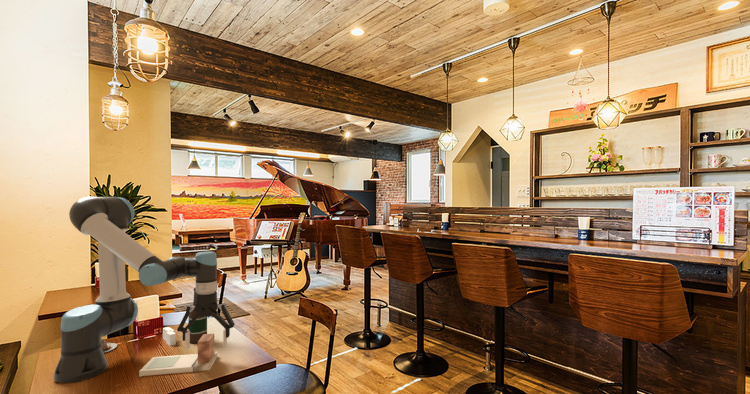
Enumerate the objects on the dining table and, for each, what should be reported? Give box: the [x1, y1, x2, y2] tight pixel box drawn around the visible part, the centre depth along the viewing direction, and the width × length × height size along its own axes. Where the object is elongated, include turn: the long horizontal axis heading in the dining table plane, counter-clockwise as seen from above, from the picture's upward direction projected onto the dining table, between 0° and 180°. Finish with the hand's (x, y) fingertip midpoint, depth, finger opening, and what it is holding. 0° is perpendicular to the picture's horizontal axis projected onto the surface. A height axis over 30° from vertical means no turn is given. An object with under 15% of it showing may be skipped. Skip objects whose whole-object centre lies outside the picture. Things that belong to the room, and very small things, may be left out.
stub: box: [193, 333, 218, 372], centre depth 141 cm, size 5×12×10 cm, turn 11°
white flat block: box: [138, 353, 198, 378], centre depth 139 cm, size 18×12×2 cm, turn 101°
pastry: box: [101, 338, 118, 354], centre depth 155 cm, size 12×12×5 cm
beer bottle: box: [187, 286, 208, 345], centre depth 165 cm, size 8×8×24 cm
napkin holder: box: [162, 326, 177, 347], centre depth 163 cm, size 15×11×6 cm
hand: (206, 347), depth 141 cm, fingers open, 13 cm apart
